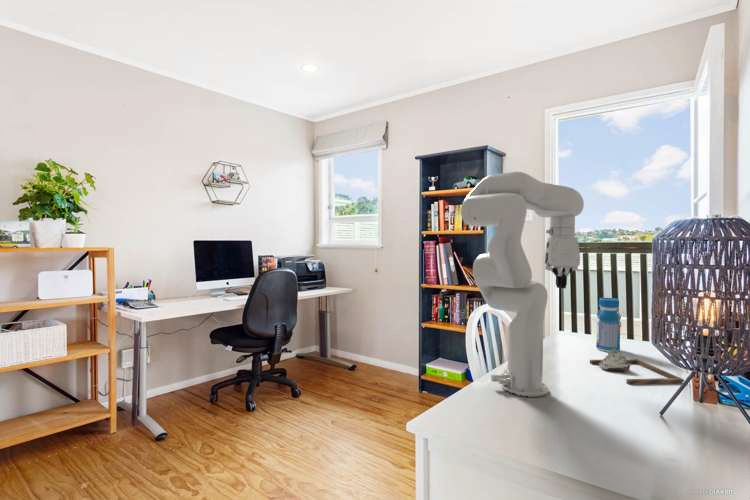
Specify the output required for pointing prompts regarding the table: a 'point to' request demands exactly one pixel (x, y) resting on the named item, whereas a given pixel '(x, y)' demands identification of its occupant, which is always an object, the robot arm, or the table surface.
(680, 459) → the table surface
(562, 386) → the table surface
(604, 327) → the beverage bottle
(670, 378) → the frame
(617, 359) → the rock sample
